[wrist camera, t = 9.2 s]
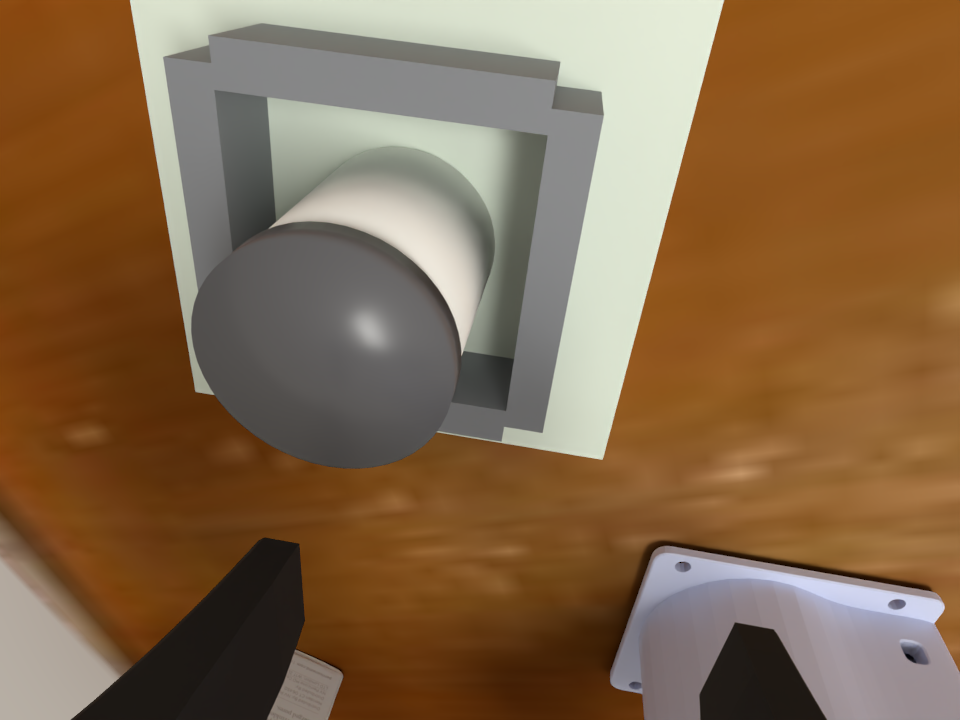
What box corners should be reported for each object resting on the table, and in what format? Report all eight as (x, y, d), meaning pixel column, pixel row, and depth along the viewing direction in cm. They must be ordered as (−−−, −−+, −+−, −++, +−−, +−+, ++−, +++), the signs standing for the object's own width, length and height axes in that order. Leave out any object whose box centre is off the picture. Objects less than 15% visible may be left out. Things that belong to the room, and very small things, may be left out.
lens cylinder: (519, 171, 16) (478, 282, 11) (478, 343, 18) (430, 494, 13) (317, 120, 16) (182, 205, 11) (307, 298, 19) (197, 431, 14)
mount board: (726, -33, 14) (760, -29, 11) (602, 447, 21) (604, 519, 18) (128, -104, 14) (27, -116, 12) (205, 381, 21) (151, 441, 19)
